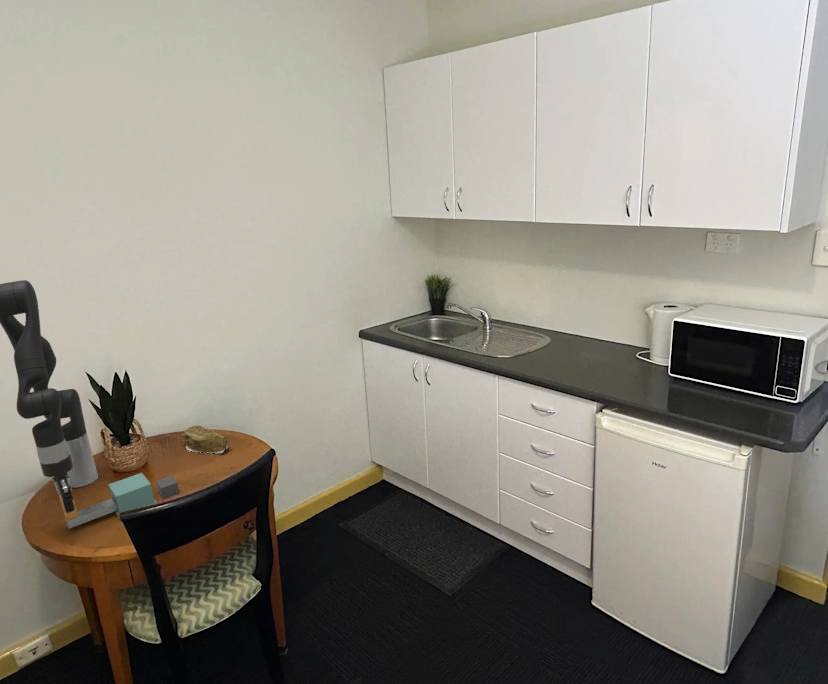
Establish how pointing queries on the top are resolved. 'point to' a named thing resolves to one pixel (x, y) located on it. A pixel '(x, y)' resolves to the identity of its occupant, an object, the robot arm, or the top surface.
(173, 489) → the block
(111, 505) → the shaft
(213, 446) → the stone
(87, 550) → the top surface
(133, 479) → the block
